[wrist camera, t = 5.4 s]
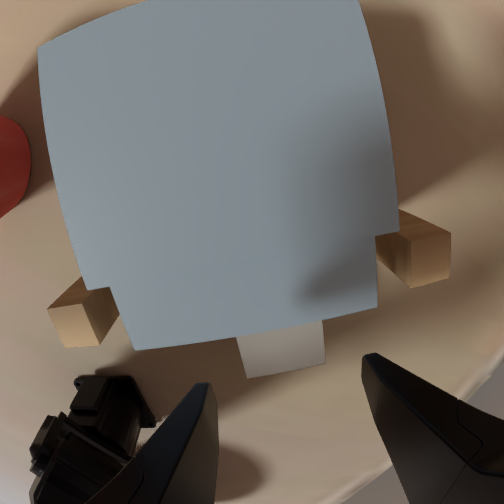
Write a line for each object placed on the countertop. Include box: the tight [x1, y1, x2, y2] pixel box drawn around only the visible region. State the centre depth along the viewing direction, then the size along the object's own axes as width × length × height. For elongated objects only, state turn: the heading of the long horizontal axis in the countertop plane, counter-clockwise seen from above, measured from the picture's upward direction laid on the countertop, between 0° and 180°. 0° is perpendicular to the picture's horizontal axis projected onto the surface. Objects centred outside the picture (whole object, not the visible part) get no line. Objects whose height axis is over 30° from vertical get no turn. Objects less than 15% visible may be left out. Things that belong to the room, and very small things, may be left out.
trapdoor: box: [37, 0, 400, 350], centre depth 11 cm, size 13×12×3 cm
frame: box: [47, 209, 451, 348], centre depth 16 cm, size 2×17×10 cm, turn 101°
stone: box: [236, 320, 326, 379], centre depth 20 cm, size 5×5×5 cm
